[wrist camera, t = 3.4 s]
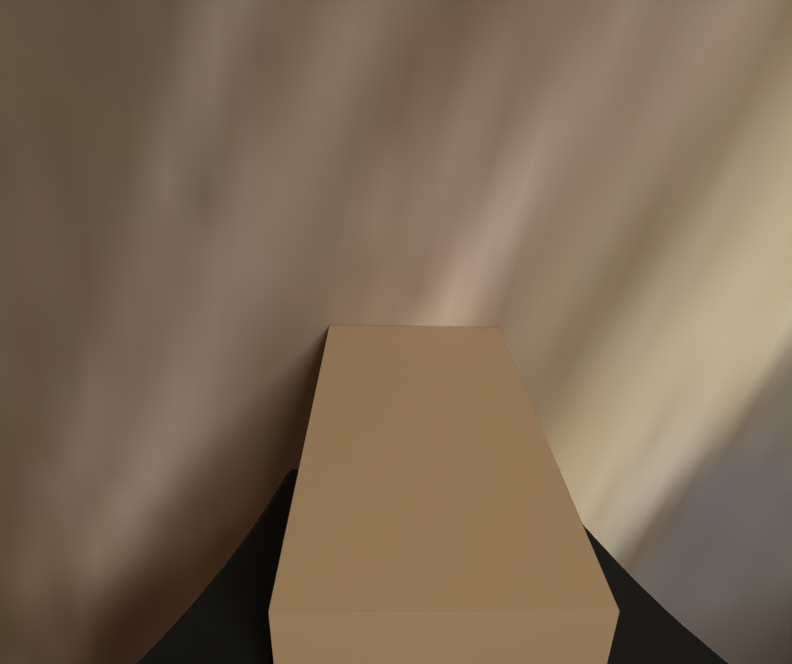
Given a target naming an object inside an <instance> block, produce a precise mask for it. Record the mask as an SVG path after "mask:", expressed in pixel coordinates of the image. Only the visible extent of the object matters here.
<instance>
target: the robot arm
mask: <svg viewBox="0 0 792 664" xmlns="http://www.w3.org/2000/svg"><path fill="white" fill-rule="evenodd" d="M298 471H299V469H292V470H291V471H290V472H289V473H288V474H287V475H286V476H285V478H284V480H283V482H282V483H281V485H280V487H279V488H278V490H277V492H276V493H275V495H274V496H273V498H272V500H271V501H270V503H269V504H268V506H267V507H266V509H265V510H264V512H263V513H262V515H261V516H260V518H259V519H258V521H257V522H256V524H255V525H254V527H253V528H252V529H251V531H250V532H249V533H248V535H247V536H246V538H245V539H244V540H243V542H242V543H241V544H240V546H239V547H238V548H237V550H236V551H235V553H234V554H233V555H232V557H231V558H230V559H229V561H228V562H227V563H226V564H225V566H224V567H223V568H222V569H221V571H220V572H219V573H218V574H217V575H216V577H215V578H214V579H213V580H212V582H211V583H210V584H209V585H208V586H207V588H206V589H205V590H204V591H203V593H202V594H201V595H200V596H199V597H198V599H197V600H196V601H195V602H194V603H193V605H192V606H191V607H190V608H189V609H188V610H187V611H186V613H185V614H184V615H183V616H182V617H181V618H180V619H179V620H178V622H177V623H176V624H175V625H174V626H173V627H172V628H171V629H170V630H169V631H168V632H167V633H166V635H165V636H164V637H163V638H162V639H161V640H160V641H159V642H158V643H157V644H156V645H155V646H154V647H153V648H152V649H151V650H150V651H149V652H148V653H147V654H146V655H145V656H144V657H143V658H142V659H141V660H140V661H139V662H138V663H137V664H274V662H273V652H272V642H271V632H270V622H269V613H268V612H269V607H270V602H271V598H272V593H273V588H274V584H275V579H276V574H277V570H278V565H279V560H280V556H281V551H282V546H283V541H284V537H285V532H286V527H287V523H288V518H289V513H290V509H291V504H292V499H293V495H294V490H295V485H296V480H297V476H298ZM583 527H584V529H585V531H586V534H587V536H588V538H589V541H590V543H591V545H592V548H593V550H594V553H595V555H596V557H597V560H598V562H599V564H600V567H601V569H602V571H603V574H604V576H605V578H606V581H607V583H608V585H609V588H610V590H611V592H612V595H613V597H614V600H615V602H616V604H617V607H618V609H619V611H620V612H619V616H618V620H617V624H616V628H615V632H614V637H613V641H612V645H611V649H610V653H609V657H608V662H607V664H728V663H726V662H725V661H724V660H723V659H722V658H720V657H719V656H718V655H717V654H716V653H715V652H713V651H712V650H711V649H710V648H709V647H707V646H706V645H705V644H704V643H703V642H702V641H700V640H699V639H698V638H697V637H696V636H694V635H693V634H692V633H691V632H690V631H689V630H687V629H686V628H685V627H684V626H683V625H682V624H680V623H679V622H678V621H677V620H676V619H675V618H674V617H673V616H672V615H671V614H669V613H668V612H667V611H666V610H665V609H664V608H663V607H662V606H661V605H660V604H659V603H658V602H657V601H656V600H655V599H654V598H653V597H651V596H650V595H649V594H648V593H647V592H646V591H645V590H644V589H643V588H642V587H641V586H640V585H639V584H638V583H637V582H636V581H635V580H634V579H633V578H632V577H631V576H630V575H629V574H628V573H627V572H626V571H625V570H624V569H623V568H622V567H621V566H620V564H619V563H618V562H617V561H616V560H615V559H614V558H613V557H612V556H611V555H610V554H609V553H608V552H607V550H606V549H605V548H604V547H603V546H602V545H601V544H600V543H599V542H598V541H597V540H596V539H595V538H594V536H593V535H592V534H591V533H590V532H589V531H588V530H587V529H586V528H585V526H584V525H583Z"/></svg>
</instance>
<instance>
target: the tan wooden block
mask: <svg viewBox="0 0 792 664" xmlns="http://www.w3.org/2000/svg"><path fill="white" fill-rule="evenodd" d="M619 612H620V611H619V609H618V607H617V604H616V602H615V600H614V597H613V595H612V592H611V590H610V588H609V585H608V583H607V581H606V578H605V576H604V574H603V571H602V569H601V567H600V564H599V562H598V560H597V557H596V555H595V553H594V550H593V548H592V545H591V543H590V541H589V538H588V536H587V534H586V531H585V529H584V527H583V524H582V522H581V520H580V517H579V515H578V513H577V510H576V508H575V506H574V503H573V501H572V499H571V496H570V494H569V491H568V489H567V487H566V484H565V482H564V480H563V477H562V475H561V473H560V470H559V468H558V466H557V463H556V461H555V459H554V456H553V454H552V452H551V449H550V447H549V445H548V442H547V440H546V437H545V435H544V433H543V430H542V428H541V426H540V423H539V421H538V419H537V416H536V414H535V412H534V409H533V407H532V405H531V402H530V400H529V398H528V395H527V393H526V390H525V388H524V386H523V383H522V381H521V379H520V376H519V374H518V372H517V369H516V367H515V365H514V362H513V360H512V358H511V355H510V353H509V351H508V348H507V346H506V344H505V341H504V339H503V336H502V334H501V332H500V329H499V327H413V326H329V330H328V335H327V340H326V344H325V349H324V354H323V359H322V363H321V368H320V373H319V377H318V382H317V387H316V391H315V396H314V401H313V405H312V410H311V415H310V419H309V424H308V429H307V434H306V438H305V443H304V448H303V452H302V457H301V462H300V466H299V471H298V476H297V480H296V485H295V490H294V495H293V499H292V504H291V509H290V513H289V518H288V523H287V527H286V532H285V537H284V541H283V546H282V551H281V556H280V560H279V565H278V570H277V574H276V579H275V584H274V588H273V593H272V598H271V602H270V607H269V612H268V613H269V622H270V632H271V642H272V652H273V662H274V664H607V662H608V657H609V653H610V649H611V645H612V641H613V637H614V632H615V628H616V624H617V620H618V616H619Z"/></svg>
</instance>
